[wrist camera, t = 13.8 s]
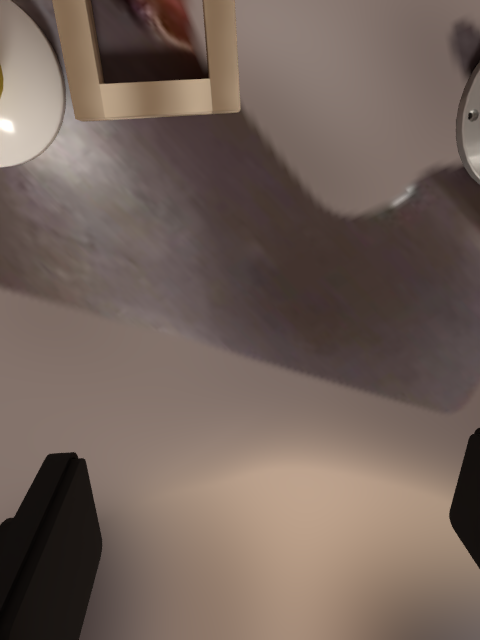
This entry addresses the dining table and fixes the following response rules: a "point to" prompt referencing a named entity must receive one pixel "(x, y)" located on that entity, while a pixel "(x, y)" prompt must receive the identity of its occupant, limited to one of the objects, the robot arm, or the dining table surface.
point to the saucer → (27, 88)
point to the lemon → (1, 81)
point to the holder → (148, 97)
